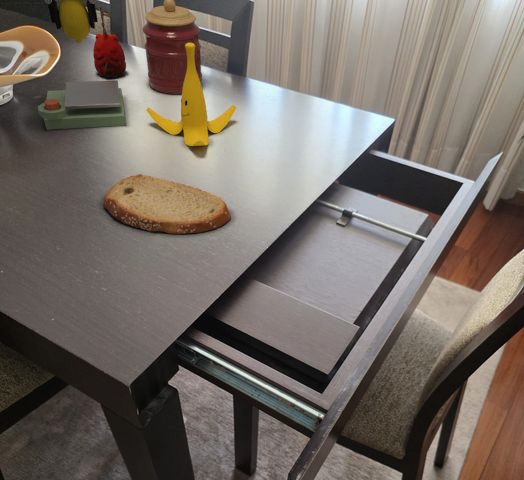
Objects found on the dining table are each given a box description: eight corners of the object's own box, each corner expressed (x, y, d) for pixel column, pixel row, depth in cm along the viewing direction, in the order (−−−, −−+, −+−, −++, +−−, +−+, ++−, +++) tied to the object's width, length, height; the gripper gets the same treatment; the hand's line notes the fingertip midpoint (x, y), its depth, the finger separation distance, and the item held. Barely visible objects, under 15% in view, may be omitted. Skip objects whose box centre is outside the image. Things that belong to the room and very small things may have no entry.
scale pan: (65, 109, 99) (64, 106, 98) (67, 84, 107) (66, 82, 107) (120, 106, 101) (120, 103, 101) (118, 83, 109) (117, 80, 109)
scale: (42, 130, 100) (36, 113, 97) (46, 100, 110) (41, 84, 107) (126, 126, 103) (123, 109, 100) (122, 97, 113) (120, 81, 110)
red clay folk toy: (128, 69, 124) (118, -1, 113) (126, 80, 120) (116, 7, 109) (97, 69, 123) (84, -2, 112) (94, 80, 119) (80, 7, 108)
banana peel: (199, 159, 95) (194, 64, 82) (146, 124, 104) (134, 34, 91) (262, 137, 102) (267, 47, 90) (208, 106, 112) (205, 21, 99)
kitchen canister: (184, 99, 114) (178, 10, 101) (138, 87, 117) (126, -1, 104) (211, 81, 122) (209, -4, 109) (167, 71, 125) (160, -13, 112)
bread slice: (238, 222, 81) (238, 202, 78) (136, 253, 74) (133, 233, 71) (190, 174, 91) (188, 154, 88) (96, 197, 84) (91, 177, 81)
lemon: (83, 49, 93) (73, -1, 87) (58, 44, 94) (47, -6, 88) (99, 41, 96) (91, -8, 91) (75, 36, 98) (65, -12, 92)
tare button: (45, 111, 99) (43, 104, 98) (46, 106, 100) (44, 99, 99) (60, 111, 99) (58, 104, 98) (60, 105, 101) (58, 98, 100)
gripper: (104, -103, 84) (121, 20, 97) (-3, -107, 81) (30, 21, 94) (104, -96, 79) (122, 32, 92) (-9, -100, 76) (27, 33, 89)
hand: (76, 25), depth 93 cm, fingers closed on lemon, 5 cm apart
